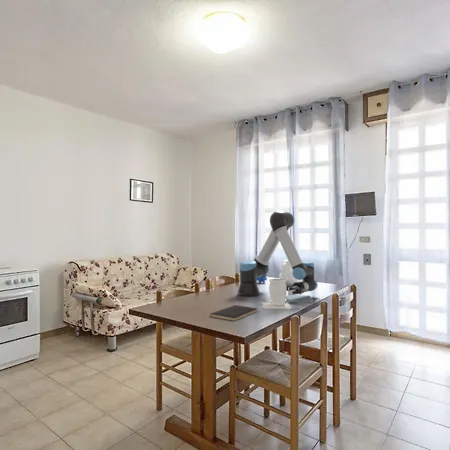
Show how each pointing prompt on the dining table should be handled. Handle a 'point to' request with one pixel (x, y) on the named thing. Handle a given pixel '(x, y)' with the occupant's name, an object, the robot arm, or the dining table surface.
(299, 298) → the mat
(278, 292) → the jar
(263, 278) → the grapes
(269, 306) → the tile
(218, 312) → the hardcover book
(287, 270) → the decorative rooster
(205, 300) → the dining table surface
